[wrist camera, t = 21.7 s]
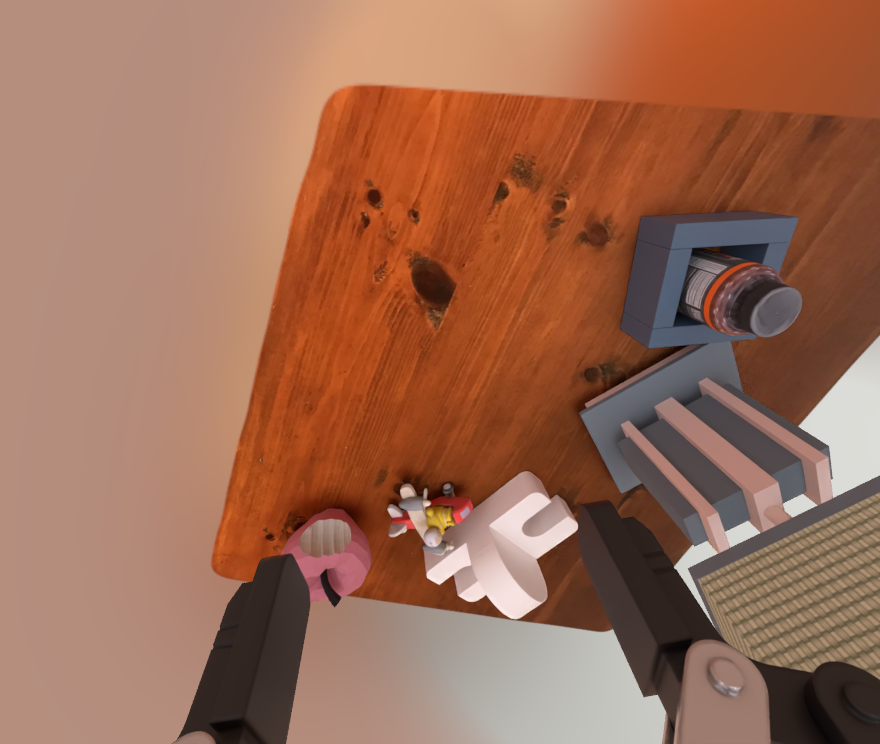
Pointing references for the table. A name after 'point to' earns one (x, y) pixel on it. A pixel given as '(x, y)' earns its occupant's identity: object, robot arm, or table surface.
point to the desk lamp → (750, 509)
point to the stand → (667, 262)
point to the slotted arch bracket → (504, 546)
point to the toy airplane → (429, 516)
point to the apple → (330, 555)
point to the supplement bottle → (737, 295)
